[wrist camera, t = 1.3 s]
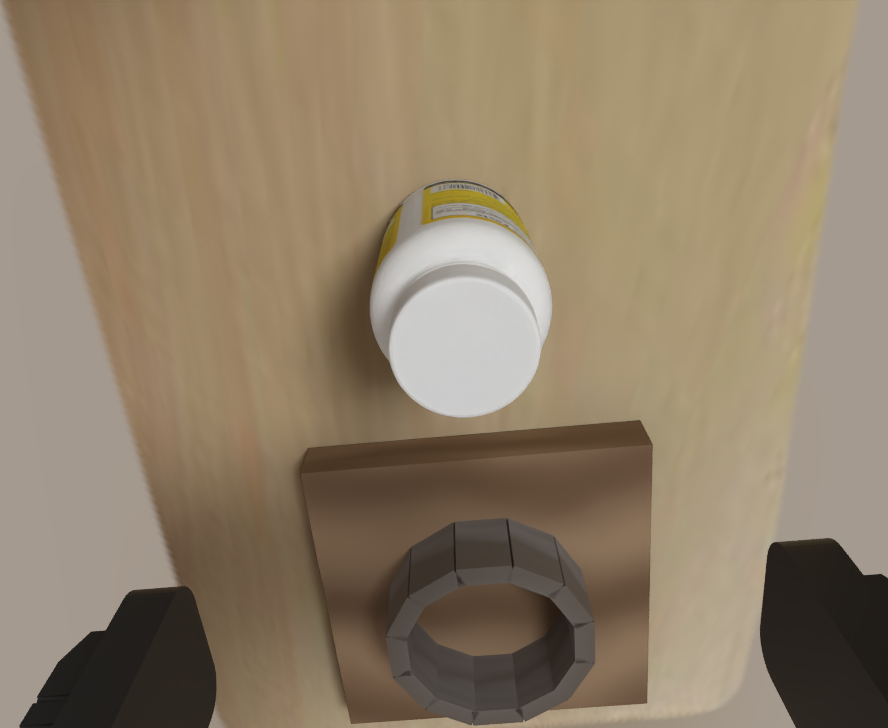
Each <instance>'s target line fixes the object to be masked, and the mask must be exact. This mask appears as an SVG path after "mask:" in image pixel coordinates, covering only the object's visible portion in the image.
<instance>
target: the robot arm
mask: <svg viewBox="0 0 888 728" xmlns="http://www.w3.org/2000/svg"><path fill="white" fill-rule="evenodd" d="M760 639H761V647H762V652H763V657H764V660H765V664H766V667H767V670H768V673H769V675H770V677H771V679H772V681H773V683H774V685H775V687H776V689H777V691H778V693H779V695H780V697H781V699H782V701H783V703H784V705H785V707H786V709H787V711H788V713H789V715H790V717H791V719H792V721H793V723H794V724H795V727H796V728H888V578H887V577H885V576H884V575H882V574H876V575H863V574H862V573H861V571H859V569H858V567H857V566H856V565H855V564H854V562H853V561H852V560H851V558H850V557H849V556H848V555H847V554H846V552H845V551H844V550H843V548H842V547H841V546H840V545H839V543H838V542H836V541H835V540H833V539H831V538H824V539H811V540H798V541H785V542H774V543H772V544H771V546H770V548H769V550H768V555H767V564H766V574H765V584H764V594H763V604H762V614H761V624H760ZM37 698H38V700H37V703H34V704H32V706H31V707H30V709H29V711H28V712H27V714H26V716H25V717H24V719H23V721H22V722H21V724H20V728H208V726H209V724H210V721H211V718H212V715H213V711H214V706H215V700H216V672H215V666H214V663H213V659H212V656H211V652H210V649H209V646H208V642H207V639H206V635H205V632H204V629H203V625H202V622H201V618H200V615H199V612H198V608H197V605H196V601H195V598H194V595H193V593H192V591H191V590H190V589H189V588H188V587H186V586H181V587H168V588H155V589H144V590H143V589H142V590H133V591H131V592H129V593H128V594H127V595H126V596H125V598H124V600H123V601H122V603H121V605H120V607H119V608H118V610H117V612H116V613H115V615H114V617H113V619H112V620H111V622H110V624H109V626H108V627H107V629H106V631H94V632H90V633H89V634H88V635H87V636H86V637H85V638H84V639H83V640H82V641H81V642H80V643H78V645H76V646H75V647H74V648H73V649H72V650H71V651H70V652H69V653H68V654H67V655H66V656H64V658H62V659H61V660H60V661H59V662H58V664H57V665H56V667H55V668H54V670H53V672H52V673H51V675H50V677H49V678H48V680H47V681H46V683H45V685H44V687H43V688H42V690H41V691H40V693H39V694H38V696H37Z"/></svg>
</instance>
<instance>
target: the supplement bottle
mask: <svg viewBox="0 0 888 728" xmlns="http://www.w3.org/2000/svg"><path fill="white" fill-rule="evenodd" d="M551 316H552V297H551V290H550V287H549V282H548V279H547V275H546V272H545V270H544V268H543V265H542V263H541V261H540V259H539V257H538V255H537V253H536V251H535V248H534V246H533V244H532V242H531V240H530V238H529V236H528V233H527V231H526V229H525V227H524V225H523V223H522V221H521V219H520V217H519V215H518V214H517V212H516V211H515V210H514V208H513V207H512V206H511V205H510V203H509V202H508V201H507V200H506V199H505V198H504V197H502V196H501V195H500V194H499V193H498V192H496V191H494V190H493V189H491V188H489V187H487V186H485V185H483V184H480V183H477V182H474V181H470V180H463V179H448V180H441V181H437V182H433V183H431V184H428V185H426V186H424V187H422V188H420V189H418V190H416V191H415V192H413V193H412V194H411V195H409V196H408V197H407V198H406V199H405V200H404V201H403V202H402V203H401V204H400V205H399V207H398V208H397V209H396V211H395V212H394V214H393V215H392V217H391V219H390V221H389V224H388V226H387V229H386V231H385V234H384V238H383V242H382V247H381V251H380V255H379V258H378V263H377V267H376V271H375V275H374V278H373V283H372V288H371V295H370V319H371V325H372V329H373V332H374V335H375V338H376V340H377V343H378V345H379V347H380V349H381V351H382V352H383V354H384V355H385V357H386V358H387V359H388V360H389V362H390V365H391V369H392V371H393V374H394V376H395V378H396V380H397V382H398V383H399V385H400V386H401V388H402V389H403V390H404V391H405V392H406V393H407V394H408V395H409V397H410V398H412V399H413V400H414V401H415V402H416V403H418V404H420V405H421V406H423V407H424V408H426V409H428V410H430V411H433V412H435V413H438V414H441V415H446V416H451V417H460V418H464V417H476V416H481V415H485V414H488V413H492V412H494V411H496V410H499V409H501V408H503V407H504V406H506V405H508V404H509V403H511V402H512V401H513V400H515V399H516V398H517V397H518V396H519V395H520V394H521V393H522V392H523V391H524V390H525V389H526V387H527V386H528V385H529V383H530V382H531V380H532V378H533V376H534V374H535V372H536V370H537V367H538V364H539V360H540V354H541V348H542V346H543V344H544V342H545V339H546V337H547V334H548V331H549V327H550V322H551Z"/></svg>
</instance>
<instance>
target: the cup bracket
mask: <svg viewBox="0 0 888 728" xmlns="http://www.w3.org/2000/svg"><path fill="white" fill-rule="evenodd" d="M652 451H653V444H652V442H651V440H650V438H649V436H648V435H647V433H646V431H645V429H644V427H643V425H642V423H641V421H640V420H638V421H627V422H615V423H603V424H591V425H579V426H567V427H555V428H543V429H531V430H519V431H507V432H496V433H484V434H472V435H460V436H448V437H436V438H424V439H412V440H400V441H388V442H376V443H364V444H353V445H341V446H329V447H317V448H308V451H307V454H306V457H305V460H304V463H303V466H302V469H301V472H300V476H301V481H302V486H303V491H304V496H305V501H306V506H307V511H308V516H309V520H310V525H311V530H312V535H313V540H314V545H315V550H316V555H317V560H318V565H319V569H320V574H321V579H322V584H323V589H324V594H325V599H326V604H327V609H328V614H329V618H330V623H331V628H332V633H333V638H334V643H335V648H336V653H337V658H338V663H339V667H340V672H341V677H342V682H343V687H344V692H345V697H346V702H347V707H348V712H349V717H350V721H351V724H357V723H371V722H386V721H400V720H414V719H429V718H443V717H448V718H451V719H454V720H457V721H460V722H463V723H466V724H469V725H472V723H473V725H488V724H502V723H516V722H523V719H524V721H527V720H529V719H531V718H533V717H535V716H537V715H539V714H541V713H543V712H545V711H547V710H558V709H572V708H586V707H601V706H615V705H630V704H644V703H647V683H648V637H649V590H650V544H651V498H652Z"/></svg>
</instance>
